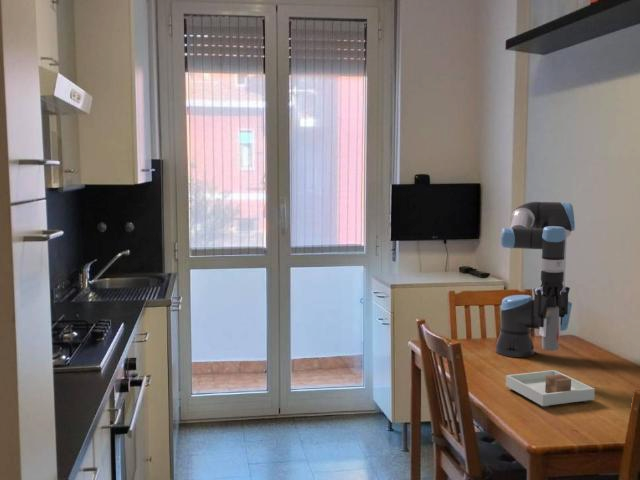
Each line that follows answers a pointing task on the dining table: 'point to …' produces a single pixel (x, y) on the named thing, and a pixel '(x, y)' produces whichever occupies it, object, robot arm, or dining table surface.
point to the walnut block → (557, 383)
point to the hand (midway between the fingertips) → (549, 334)
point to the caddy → (535, 389)
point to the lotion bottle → (551, 326)
